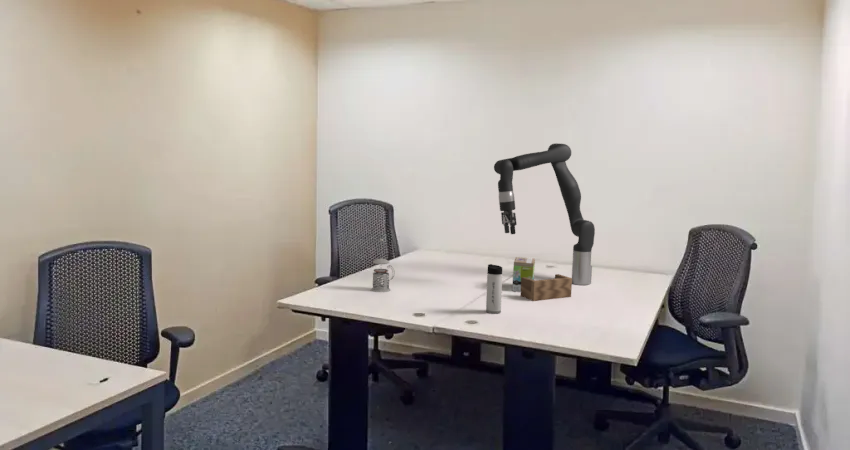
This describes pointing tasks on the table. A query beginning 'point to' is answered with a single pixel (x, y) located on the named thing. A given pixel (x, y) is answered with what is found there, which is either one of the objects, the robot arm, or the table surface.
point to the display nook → (546, 288)
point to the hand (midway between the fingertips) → (510, 233)
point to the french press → (381, 276)
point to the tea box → (522, 271)
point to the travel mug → (494, 289)
